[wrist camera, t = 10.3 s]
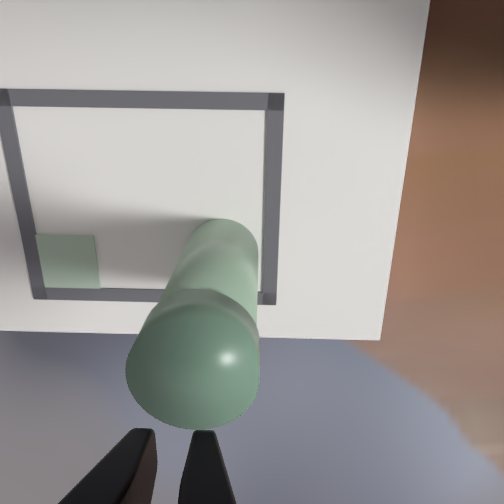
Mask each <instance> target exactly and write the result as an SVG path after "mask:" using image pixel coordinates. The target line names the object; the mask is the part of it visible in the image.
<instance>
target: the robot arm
mask: <svg viewBox="0 0 504 504" xmlns="http://www.w3.org/2000/svg"><path fill="white" fill-rule="evenodd" d="M156 472H157V450H156V440H155V433H154V431H153V430H152V429H146V428H134V429H132V430H130V431H129V432H128V433H127V434H126V435H125V436H124V438H122V439H121V440H120V442H118V444H117V445H115V446H114V447H113V449H112V450H111V451H110V452H109V453H108V454H107V455H106V456H105V457H104V458H103V459H102V460H101V461H100V462H99V463H98V464H97V465H96V466H95V467H94V468H93V469H92V470H91V471H90V472H89V473H88V474H87V475H86V476H85V477H84V478H83V479H82V480H81V481H80V482H79V483H78V484H77V485H76V486H75V487H74V488H73V489H72V490H71V491H70V492H69V493H68V494H67V495H66V496H65V497H64V498H63V499H62V500H61V501H60V502H59V503H58V504H151V499H152V494H153V489H154V483H155V478H156ZM178 504H236V501H235V497H234V494H233V491H232V487H231V484H230V481H229V477H228V474H227V471H226V467H225V464H224V460H223V457H222V453H221V450H220V447H219V443H218V440H217V437H216V434H215V432H214V431H212V430H196V431H194V433H193V436H192V440H191V443H190V447H189V452H188V455H187V459H186V463H185V467H184V471H183V475H182V479H181V484H180V490H179V498H178Z"/></svg>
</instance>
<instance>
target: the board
mask: <svg viewBox="0 0 504 504" xmlns="http://www.w3.org/2000/svg"><path fill="white" fill-rule="evenodd" d="M429 6H430V0H0V330H2V331H3V330H4V331H42V332H44V331H45V332H79V333H81V332H82V333H118V334H119V333H120V334H139V332H140V330H141V328H142V326H143V324H144V322H145V320H146V318H147V316H148V314H149V313H150V312H151V310H152V309H153V308H154V307H155V306H156V305H157V304H158V302H159V300H160V298H161V296H162V294H163V292H164V290H165V288H166V286H167V283H168V281H169V279H170V277H171V275H172V273H173V271H174V269H175V267H176V265H177V263H178V261H179V259H180V257H181V254H182V252H183V250H184V248H185V246H186V244H187V242H188V240H189V238H190V236H191V234H192V233H193V231H194V230H195V229H196V228H197V227H198V226H200V225H201V224H203V223H205V222H207V221H210V220H213V219H229V220H233V221H236V222H238V223H240V224H242V225H243V226H245V227H246V228H247V229H248V230H249V231H250V232H251V233H252V235H253V236H254V238H255V240H256V242H257V245H258V251H259V259H258V295H257V329H258V332H259V337H272V338H310V339H313V338H314V339H349V340H380V336H381V329H382V322H383V316H384V309H385V302H386V295H387V289H388V282H389V275H390V269H391V262H392V255H393V248H394V242H395V235H396V228H397V221H398V215H399V208H400V201H401V194H402V188H403V181H404V174H405V168H406V161H407V154H408V147H409V141H410V134H411V127H412V120H413V114H414V107H415V100H416V94H417V87H418V80H419V73H420V67H421V60H422V53H423V46H424V40H425V33H426V26H427V19H428V13H429Z"/></svg>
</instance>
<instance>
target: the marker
mask: <svg viewBox="0 0 504 504" xmlns="http://www.w3.org/2000/svg"><path fill="white" fill-rule="evenodd" d="M258 259H259V251H258V245H257V242H256V240H255V238H254V236H253V235H252V233H251V232H250V231H249V230H248V229H247V228H246V227H245V226H243V225H242V224H240V223H238V222H236V221H233V220H229V219H213V220H210V221H207V222H205V223H203V224H201V225H200V226H198V227H197V228H196V229H195V230H194V231H193V233H192V234H191V236H190V238H189V240H188V242H187V244H186V246H185V248H184V250H183V252H182V254H181V257H180V259H179V261H178V263H177V265H176V267H175V269H174V271H173V273H172V275H171V277H170V279H169V281H168V283H167V286H166V288H165V290H164V292H163V294H162V296H161V298H160V300H159V302H158V304H157V305H156V306H155V307H154V308H153V309H152V310H151V312H150V313H149V314H148V316H147V318H146V320H145V322H144V324H143V326H142V328H141V330H140V332H139V334H138V336H137V338H136V341H135V342H134V344H133V346H132V348H131V350H130V353H129V354H128V358H127V361H126V380H127V384H128V387H129V390H130V392H131V394H132V395H133V397H134V399H135V400H136V401H137V403H138V404H139V405H140V406H141V407H142V408H143V409H144V410H145V411H146V412H147V413H149V414H150V415H152V416H153V417H154V418H156V419H158V420H160V421H162V422H164V423H166V424H169V425H172V426H175V427H179V428H185V429H194V430H199V429H210V428H215V427H219V426H222V425H224V424H227V423H229V422H231V421H233V420H235V419H236V418H238V417H239V416H241V415H242V414H243V413H244V412H245V411H246V410H247V409H248V408H249V407H250V405H251V404H252V402H253V401H254V399H255V396H256V394H257V391H258V387H259V366H260V338H259V332H258V329H257V295H258Z"/></svg>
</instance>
